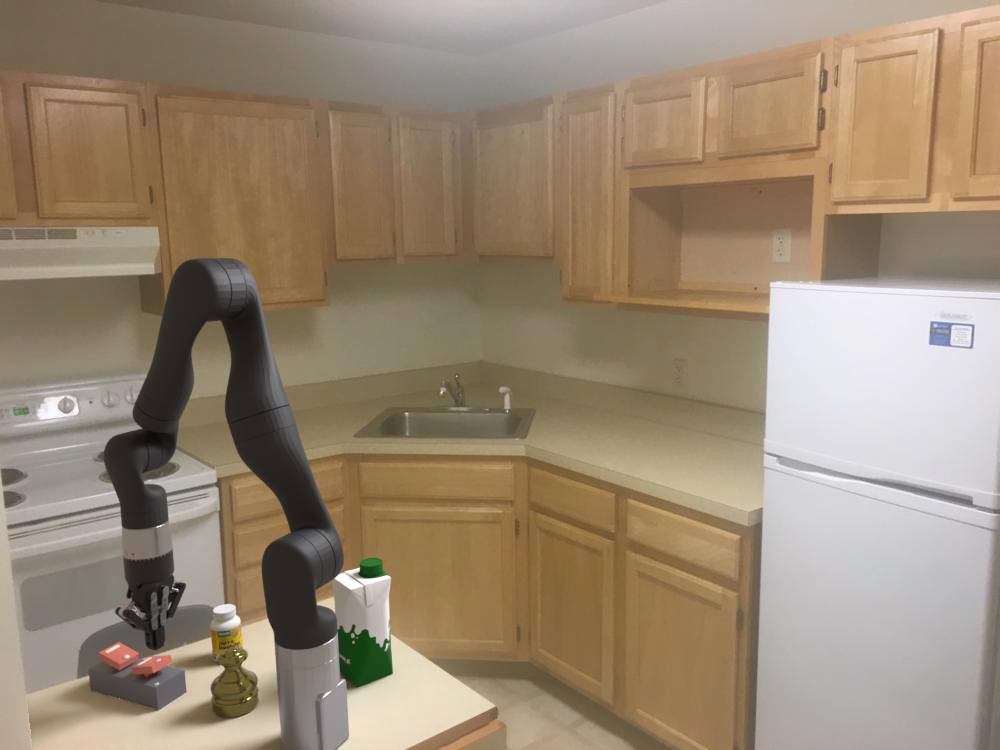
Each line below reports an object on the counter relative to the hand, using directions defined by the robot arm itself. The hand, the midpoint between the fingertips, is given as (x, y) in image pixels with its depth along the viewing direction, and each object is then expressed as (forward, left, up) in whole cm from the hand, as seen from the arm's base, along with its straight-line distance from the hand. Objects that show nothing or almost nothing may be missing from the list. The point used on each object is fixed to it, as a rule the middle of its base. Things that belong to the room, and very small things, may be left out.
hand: (156, 647), depth 132 cm
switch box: (+5, 0, -9) cm, 10 cm away
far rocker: (+9, 0, -4) cm, 10 cm away
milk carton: (-28, -20, -9) cm, 35 cm away
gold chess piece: (-14, -3, -9) cm, 17 cm away
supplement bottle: (-1, -15, -9) cm, 18 cm away
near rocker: (+1, 0, -4) cm, 4 cm away
